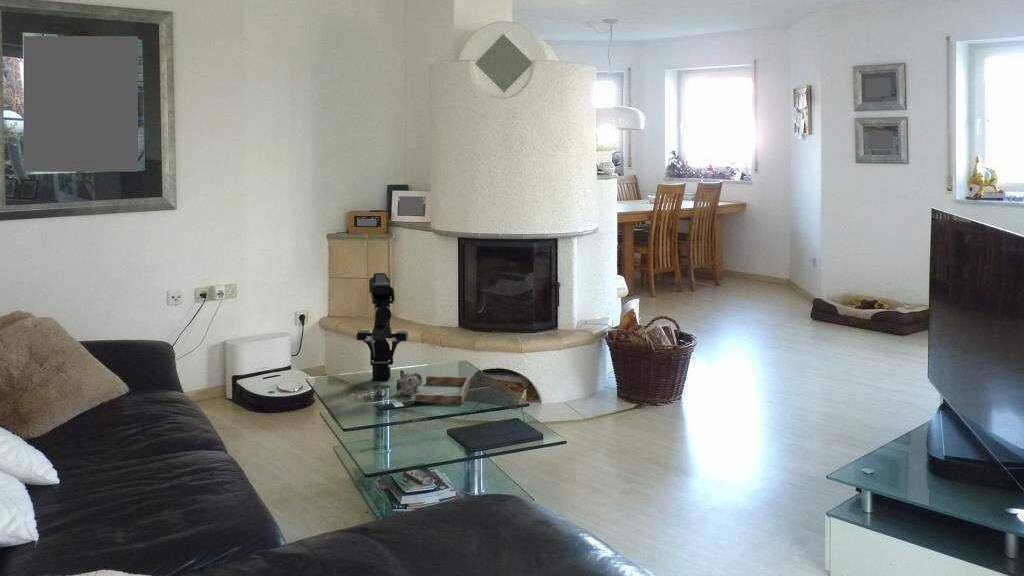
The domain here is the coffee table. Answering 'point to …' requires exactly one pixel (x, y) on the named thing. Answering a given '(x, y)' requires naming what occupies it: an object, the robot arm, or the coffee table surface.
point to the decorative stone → (408, 384)
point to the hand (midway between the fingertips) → (382, 358)
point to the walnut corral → (445, 398)
